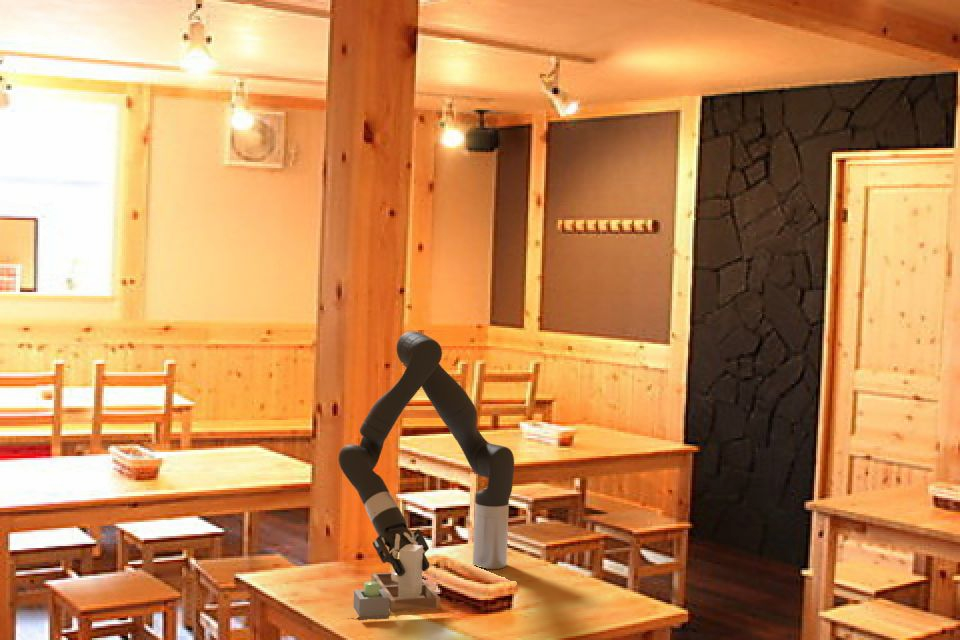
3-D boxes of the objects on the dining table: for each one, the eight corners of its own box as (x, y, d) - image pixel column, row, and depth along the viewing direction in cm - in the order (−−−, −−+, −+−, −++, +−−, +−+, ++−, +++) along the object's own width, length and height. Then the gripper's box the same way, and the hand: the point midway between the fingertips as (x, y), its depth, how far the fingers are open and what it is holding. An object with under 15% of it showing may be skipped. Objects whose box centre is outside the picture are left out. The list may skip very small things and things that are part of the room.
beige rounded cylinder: (389, 586, 304) (389, 571, 303) (406, 586, 305) (406, 570, 304) (392, 591, 299) (393, 576, 299) (410, 591, 301) (410, 575, 300)
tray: (371, 587, 306) (371, 573, 306) (417, 584, 310) (417, 571, 309) (390, 615, 284) (391, 600, 284) (439, 612, 288) (440, 598, 287)
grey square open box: (353, 611, 286) (354, 590, 286) (382, 609, 288) (383, 588, 288) (359, 620, 279) (359, 599, 279) (388, 618, 281) (389, 597, 281)
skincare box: (405, 591, 295) (407, 543, 294) (421, 593, 294) (423, 545, 293) (397, 598, 289) (398, 549, 288) (414, 600, 288) (415, 551, 287)
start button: (362, 598, 285) (362, 581, 284) (377, 597, 286) (377, 581, 286) (365, 603, 281) (365, 586, 281) (380, 602, 282) (381, 585, 282)
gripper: (369, 510, 290) (399, 568, 283) (414, 502, 300) (444, 558, 293) (355, 527, 294) (384, 585, 287) (399, 519, 305) (429, 575, 297)
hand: (414, 571), depth 290 cm, fingers closed on skincare box, 7 cm apart
